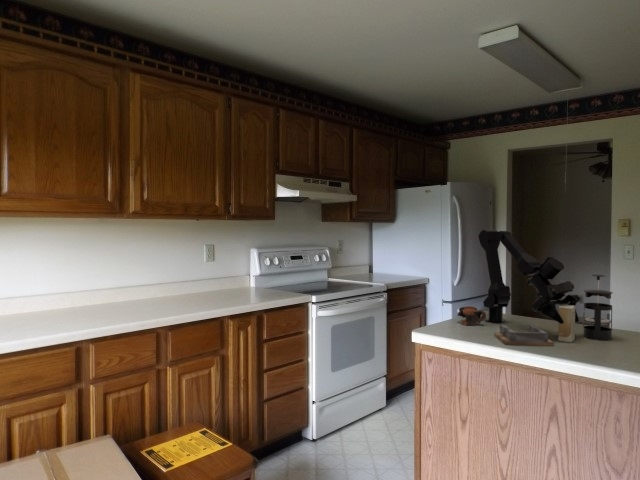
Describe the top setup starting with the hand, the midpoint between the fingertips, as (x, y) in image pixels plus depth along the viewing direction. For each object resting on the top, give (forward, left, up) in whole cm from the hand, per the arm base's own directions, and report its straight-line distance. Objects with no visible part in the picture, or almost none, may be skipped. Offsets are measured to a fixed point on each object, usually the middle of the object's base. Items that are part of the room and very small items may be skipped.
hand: (570, 322), depth 162 cm
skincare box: (-1, -1, -7) cm, 7 cm away
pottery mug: (-7, -38, -7) cm, 39 cm away
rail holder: (+10, -13, -7) cm, 18 cm away
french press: (-13, +7, -7) cm, 16 cm away
